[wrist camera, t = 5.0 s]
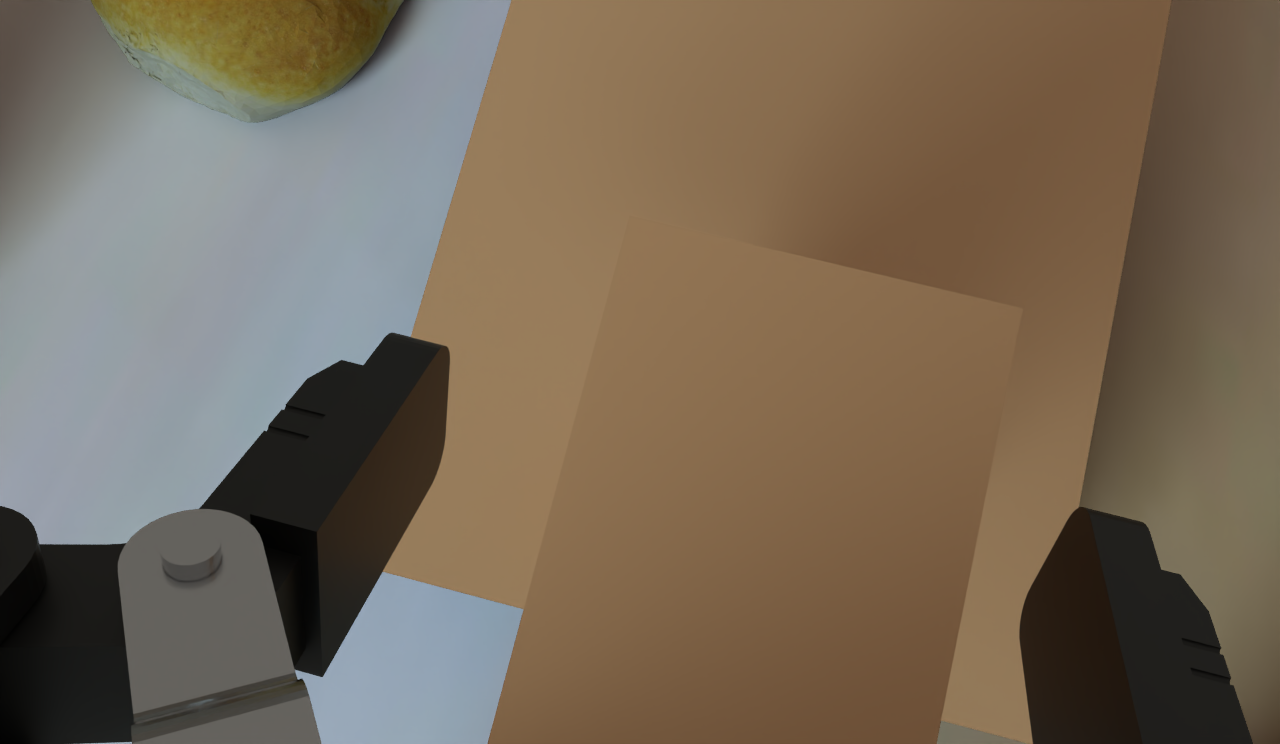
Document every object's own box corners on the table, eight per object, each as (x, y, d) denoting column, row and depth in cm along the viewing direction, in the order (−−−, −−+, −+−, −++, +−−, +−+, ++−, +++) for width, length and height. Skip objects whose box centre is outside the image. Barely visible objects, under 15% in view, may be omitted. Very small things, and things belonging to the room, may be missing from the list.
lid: (359, 561, 20) (-169, 568, 8) (581, -189, 23) (470, -1110, 10) (1016, 735, 19) (1684, 1083, 7) (1166, -67, 22) (1840, -917, 9)
